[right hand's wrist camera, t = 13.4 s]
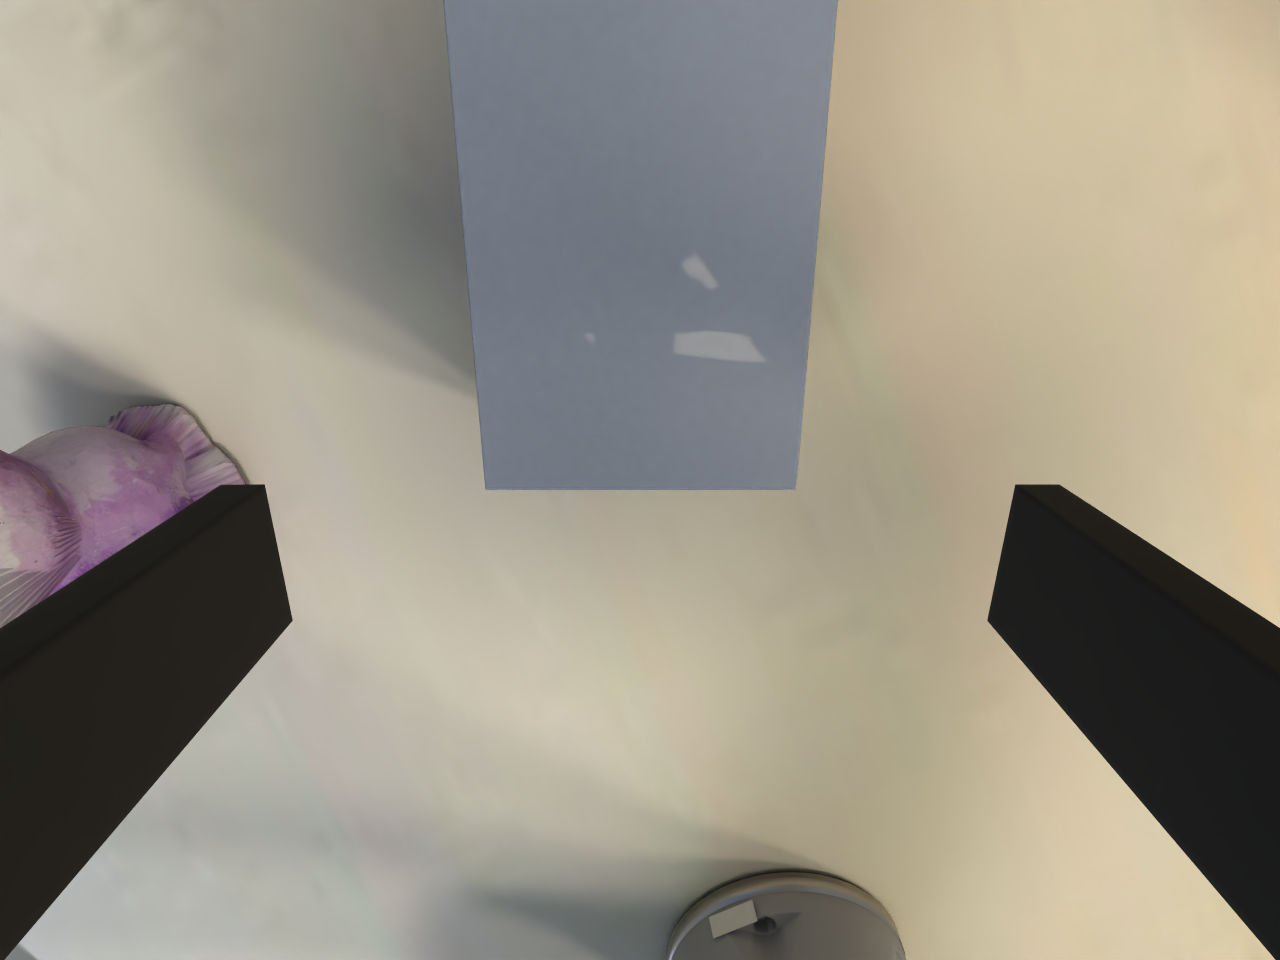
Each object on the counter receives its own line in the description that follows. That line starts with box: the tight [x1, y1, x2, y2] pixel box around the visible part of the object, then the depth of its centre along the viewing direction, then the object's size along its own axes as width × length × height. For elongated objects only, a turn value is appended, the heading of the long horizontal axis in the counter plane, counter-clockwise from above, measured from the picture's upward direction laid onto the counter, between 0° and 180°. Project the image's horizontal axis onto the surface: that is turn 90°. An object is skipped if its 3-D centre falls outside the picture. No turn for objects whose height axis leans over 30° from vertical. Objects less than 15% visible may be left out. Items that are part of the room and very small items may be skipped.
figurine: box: [0, 404, 246, 628], centre depth 27 cm, size 9×10×15 cm
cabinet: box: [444, 0, 838, 490], centre depth 25 cm, size 22×11×9 cm, turn 0°
